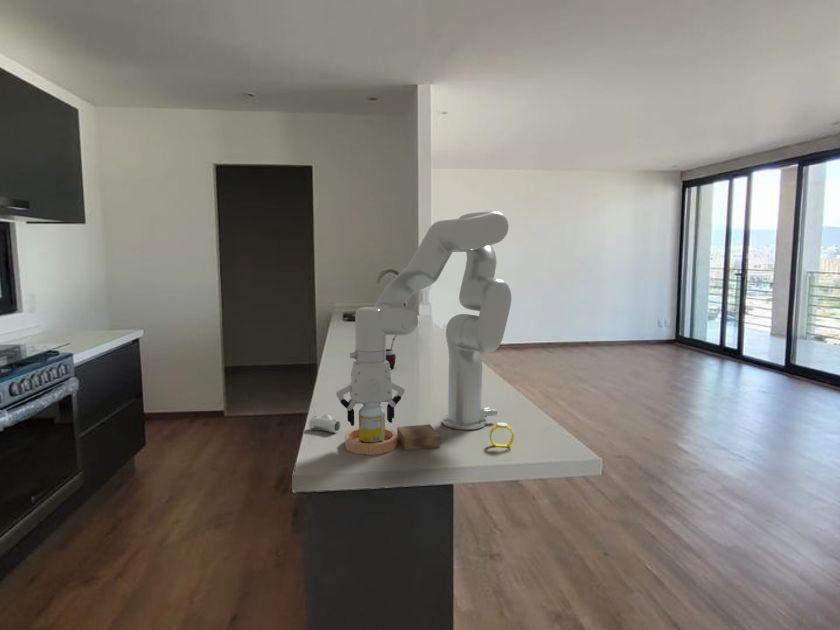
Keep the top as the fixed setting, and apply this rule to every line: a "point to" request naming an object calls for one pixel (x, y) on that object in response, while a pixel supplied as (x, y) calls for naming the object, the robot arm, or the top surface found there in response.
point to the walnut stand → (418, 437)
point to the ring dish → (370, 448)
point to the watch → (501, 425)
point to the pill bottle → (371, 423)
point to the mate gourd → (391, 355)
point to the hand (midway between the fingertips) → (371, 422)
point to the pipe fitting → (325, 424)
